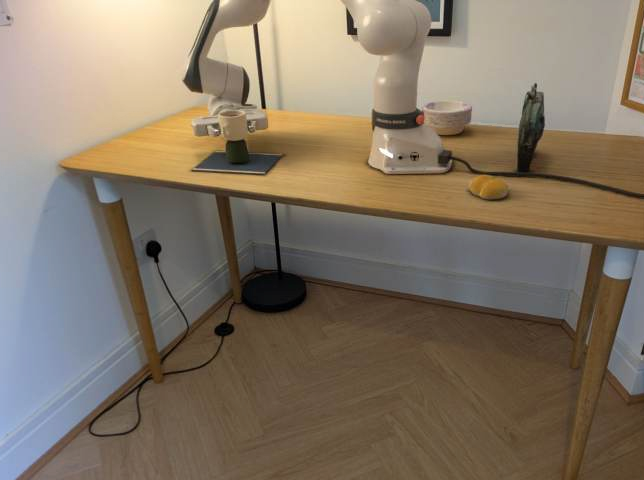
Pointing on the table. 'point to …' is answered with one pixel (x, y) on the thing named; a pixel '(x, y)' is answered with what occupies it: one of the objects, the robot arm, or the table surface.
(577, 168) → the table surface
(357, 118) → the table surface
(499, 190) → the bread roll
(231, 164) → the napkin
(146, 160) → the table surface
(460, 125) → the paper bowls
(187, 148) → the table surface
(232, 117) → the character mug
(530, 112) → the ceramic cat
